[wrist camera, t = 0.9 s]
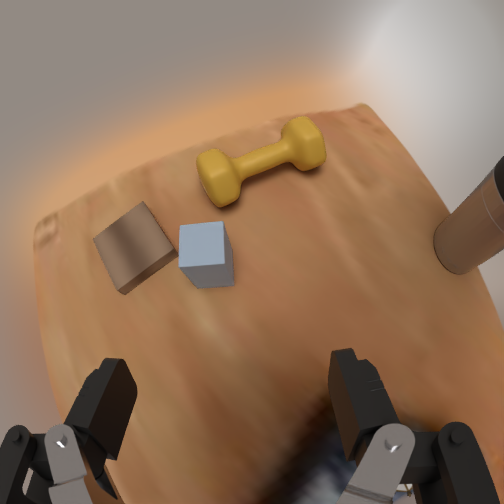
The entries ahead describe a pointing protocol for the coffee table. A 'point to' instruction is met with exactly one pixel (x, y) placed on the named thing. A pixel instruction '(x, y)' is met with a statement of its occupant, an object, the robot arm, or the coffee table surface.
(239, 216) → the coffee table surface
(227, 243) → the pillar
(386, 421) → the robot arm
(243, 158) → the dumbbell
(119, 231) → the slab
